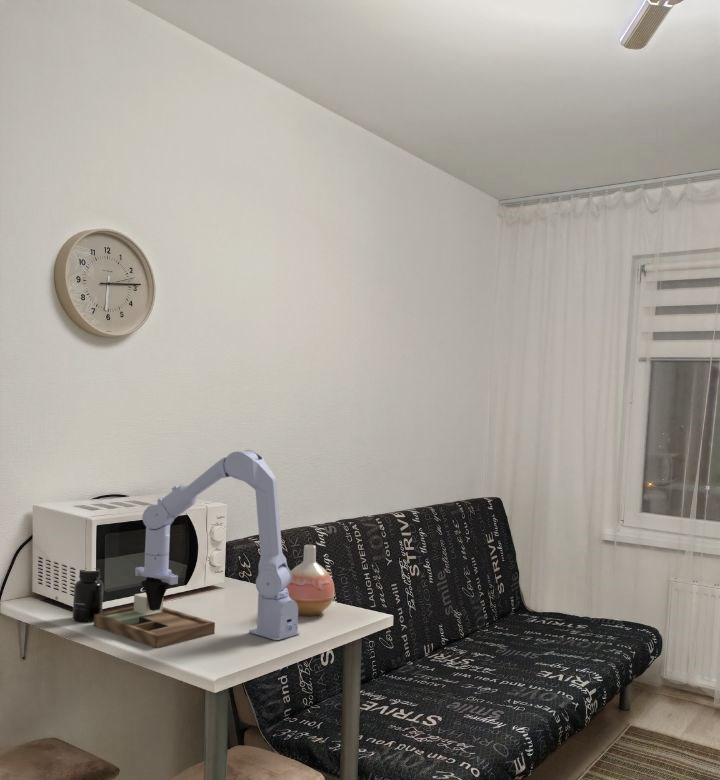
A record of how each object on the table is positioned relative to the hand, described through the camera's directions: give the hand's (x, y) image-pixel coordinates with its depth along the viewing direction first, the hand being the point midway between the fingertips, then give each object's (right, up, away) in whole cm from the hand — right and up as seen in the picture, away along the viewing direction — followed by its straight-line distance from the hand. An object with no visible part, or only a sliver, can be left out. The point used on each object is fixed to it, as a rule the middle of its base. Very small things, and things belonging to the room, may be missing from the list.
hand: (154, 609), depth 189 cm
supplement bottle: (-17, -3, +1) cm, 17 cm away
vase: (+36, -5, +14) cm, 39 cm away
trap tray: (+1, -3, -6) cm, 7 cm away
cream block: (-2, -1, +3) cm, 4 cm away
